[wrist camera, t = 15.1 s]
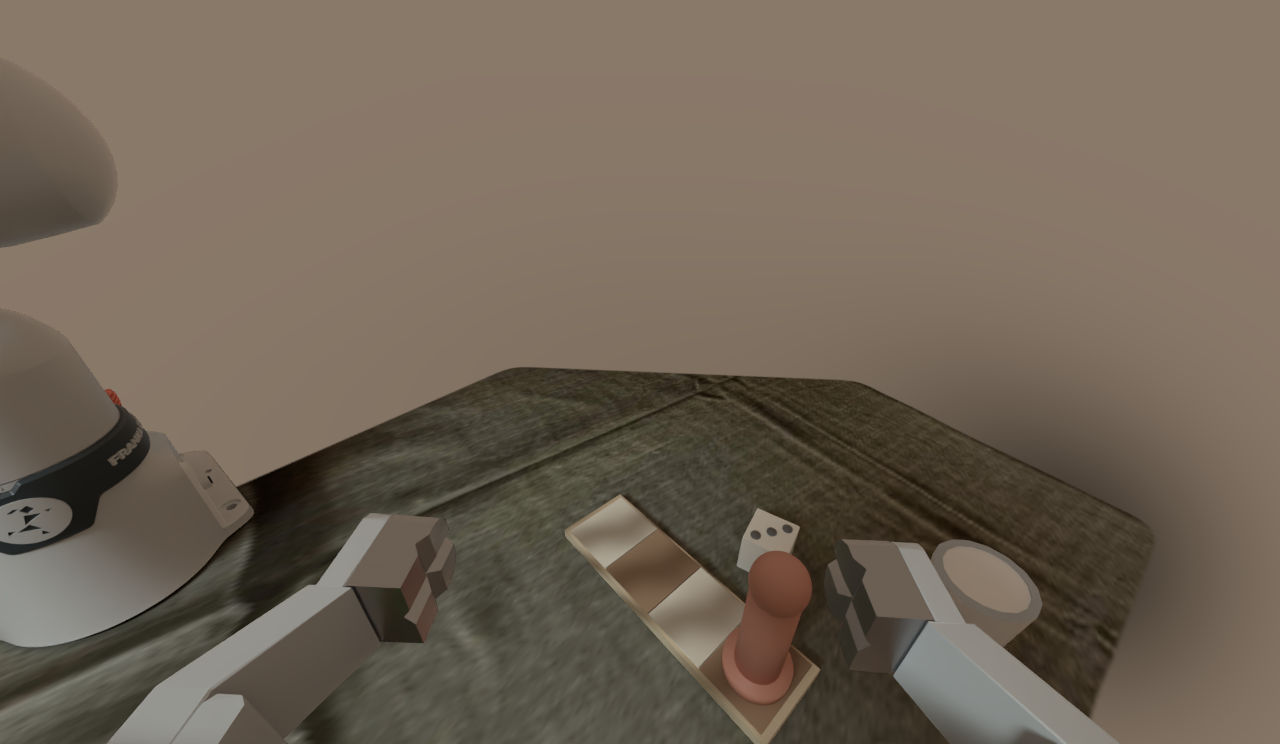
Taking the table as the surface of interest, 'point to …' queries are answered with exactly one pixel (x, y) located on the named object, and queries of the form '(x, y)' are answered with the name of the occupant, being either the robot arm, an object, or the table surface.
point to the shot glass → (987, 588)
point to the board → (681, 607)
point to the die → (766, 538)
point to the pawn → (767, 629)
